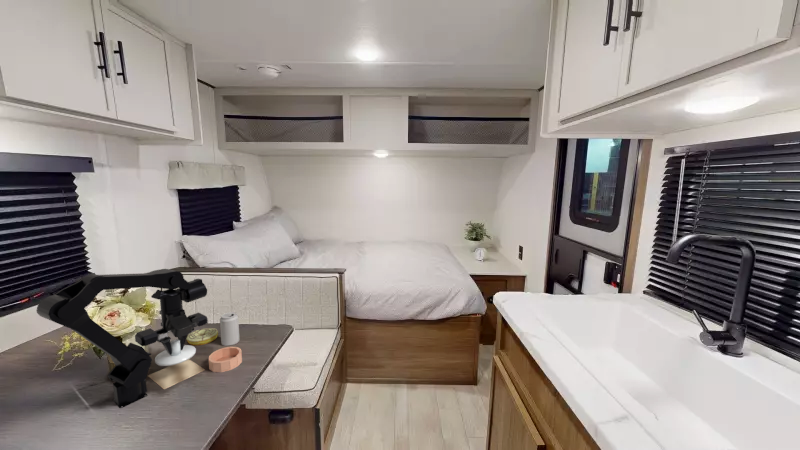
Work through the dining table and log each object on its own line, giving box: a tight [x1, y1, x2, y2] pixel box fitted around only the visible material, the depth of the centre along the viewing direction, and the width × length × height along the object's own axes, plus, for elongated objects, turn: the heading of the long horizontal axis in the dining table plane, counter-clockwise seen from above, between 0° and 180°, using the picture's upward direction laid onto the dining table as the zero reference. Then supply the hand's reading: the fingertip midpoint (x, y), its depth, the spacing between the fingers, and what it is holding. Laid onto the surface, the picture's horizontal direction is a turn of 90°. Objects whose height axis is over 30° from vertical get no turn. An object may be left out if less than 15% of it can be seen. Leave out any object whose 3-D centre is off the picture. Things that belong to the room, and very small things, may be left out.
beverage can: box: [219, 311, 240, 347], centre depth 123 cm, size 6×6×12 cm
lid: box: [154, 338, 197, 367], centre depth 103 cm, size 11×11×5 cm
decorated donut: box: [186, 327, 219, 346], centre depth 125 cm, size 10×11×4 cm
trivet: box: [147, 359, 206, 390], centre depth 104 cm, size 12×12×1 cm
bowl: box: [208, 346, 243, 373], centre depth 109 cm, size 10×10×4 cm
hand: (175, 352), depth 103 cm, fingers closed on lid, 3 cm apart
